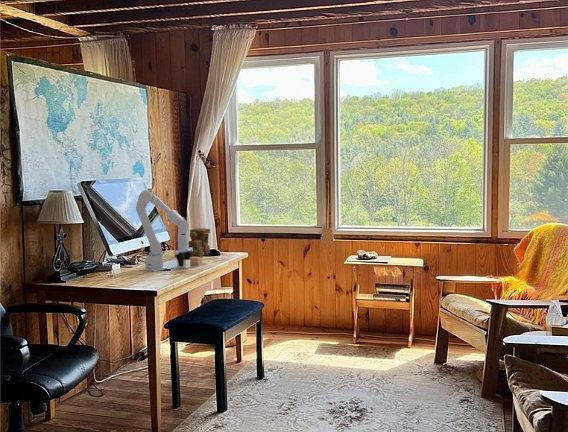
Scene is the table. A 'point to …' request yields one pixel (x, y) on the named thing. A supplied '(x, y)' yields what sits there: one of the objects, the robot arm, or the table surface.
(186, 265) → the cream brick
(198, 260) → the baseplate
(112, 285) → the table surface
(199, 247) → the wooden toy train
